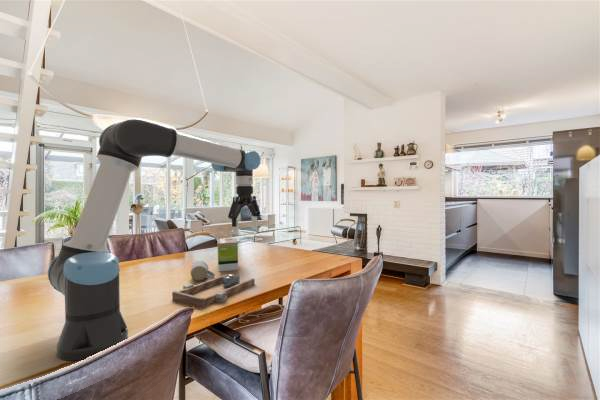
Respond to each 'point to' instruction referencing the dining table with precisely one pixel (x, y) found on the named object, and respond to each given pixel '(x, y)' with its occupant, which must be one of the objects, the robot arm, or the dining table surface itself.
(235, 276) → the rider
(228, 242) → the tea box
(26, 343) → the dining table surface
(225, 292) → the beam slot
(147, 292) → the dining table surface
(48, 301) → the dining table surface
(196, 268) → the ceramic mug
